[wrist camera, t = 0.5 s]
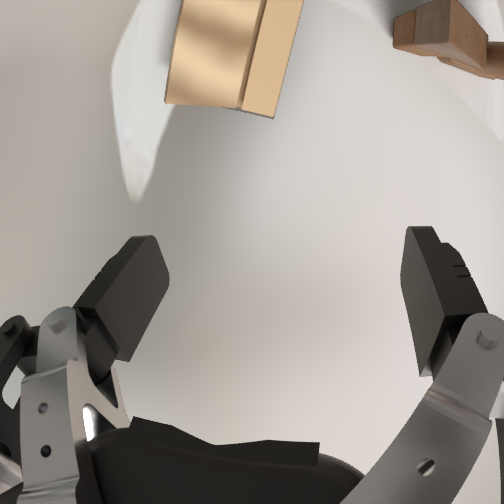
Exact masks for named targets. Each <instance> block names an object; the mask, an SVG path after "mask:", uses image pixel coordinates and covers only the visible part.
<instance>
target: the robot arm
mask: <svg viewBox="0 0 504 504" xmlns="http://www.w3.org/2000/svg"><path fill="white" fill-rule="evenodd" d="M400 276H401V277H400V278H401V288H402V293H403V297H404V301H405V305H406V309H407V313H408V318H409V323H410V327H411V332H412V337H413V341H414V347H415V352H416V358H417V363H418V369H419V375H420V377H424V376H432V377H433V383H432V385H431V387H430V388H429V389H428V390H427V392H426V394H425V395H424V397H423V399H422V400H421V402H420V403H419V405H418V406H417V408H416V409H415V411H414V412H413V414H412V415H411V417H410V418H409V420H408V421H407V423H406V424H405V426H404V427H403V428H402V430H401V431H400V432H399V434H398V435H397V437H396V438H395V439H394V441H393V442H392V443H391V445H390V446H389V447H388V449H387V450H386V451H385V452H384V454H383V455H382V456H381V458H380V459H379V460H378V461H377V462H376V464H375V465H374V466H373V467H372V468H371V470H370V471H369V472H368V473H367V474H366V476H365V475H364V474H363V473H361V472H360V471H359V470H357V469H356V468H354V467H353V466H351V465H349V464H347V463H345V462H344V461H342V460H339V459H337V458H334V457H332V456H328V455H325V454H321V453H319V445H320V443H319V442H292V441H276V440H263V441H256V442H247V443H238V444H228V445H213V444H210V443H207V442H205V441H203V440H201V439H199V438H196V437H194V436H192V435H190V434H188V433H186V432H184V431H182V430H180V429H178V428H176V427H174V426H172V425H167V424H163V423H159V422H154V421H150V420H146V419H142V418H138V417H135V416H133V419H132V421H131V422H130V421H129V419H128V417H127V414H126V411H125V407H124V403H123V399H122V395H121V390H120V386H119V381H118V376H117V372H116V369H115V367H114V366H113V365H112V364H113V362H114V360H115V359H116V360H122V361H127V362H130V360H131V358H132V356H133V354H134V352H135V349H136V348H137V346H138V344H139V342H140V340H141V338H142V336H143V334H144V332H145V330H146V328H147V327H148V325H149V323H150V321H151V319H152V317H153V315H154V313H155V312H156V310H157V308H158V306H159V304H160V302H161V300H162V299H163V297H164V295H165V293H166V291H167V289H168V287H169V272H168V269H167V267H166V264H165V262H164V258H163V256H162V253H161V250H160V248H159V245H158V242H157V240H156V238H155V237H154V236H152V235H146V236H132V237H131V238H130V239H129V240H128V241H127V242H126V243H125V245H124V246H123V247H122V248H121V250H120V251H119V252H118V253H117V254H116V255H115V256H113V257H112V258H111V259H109V260H108V262H107V263H106V264H105V265H104V267H103V268H102V269H101V272H99V273H98V274H97V275H96V277H95V280H93V281H92V282H91V283H90V284H89V286H88V287H87V288H86V290H85V291H84V292H83V294H82V295H81V296H80V298H79V299H78V300H77V302H76V303H75V304H74V306H73V307H68V306H67V307H61V308H58V309H56V310H54V311H53V312H51V313H50V314H49V315H48V316H47V317H46V318H45V319H44V320H43V322H42V323H41V325H40V326H34V327H30V326H29V324H28V323H27V321H26V320H25V318H24V317H23V316H20V315H17V316H14V317H11V318H10V319H9V320H7V321H6V322H5V323H4V324H3V325H2V326H1V327H0V504H451V503H452V501H453V500H454V498H455V497H456V495H457V494H458V492H459V490H460V489H461V487H462V485H463V484H464V482H465V480H466V478H467V477H468V475H469V473H470V471H471V469H472V467H473V466H474V464H475V462H476V460H477V458H478V456H479V454H480V452H481V450H482V448H483V446H484V444H485V442H486V440H487V438H488V435H489V433H490V430H491V427H492V421H491V420H489V417H493V418H495V420H496V427H497V435H498V445H499V457H500V471H501V472H500V473H501V504H504V321H503V320H502V319H501V318H498V317H497V316H495V315H493V314H489V313H488V311H487V308H486V306H485V304H484V301H483V299H482V297H481V295H480V293H479V291H478V288H477V286H476V284H475V282H474V280H473V278H472V277H471V274H470V272H469V270H468V268H467V267H466V265H465V262H464V261H463V259H462V257H461V255H460V253H459V252H458V251H457V250H456V249H455V248H453V247H452V246H451V245H450V244H449V243H441V242H440V240H439V238H438V236H437V234H436V232H435V230H434V229H433V227H432V226H409V227H408V228H407V230H406V236H405V244H404V252H403V258H402V265H401V274H400ZM16 366H17V367H18V368H19V369H20V370H21V371H22V372H23V373H24V375H25V377H24V378H23V379H22V382H21V396H20V397H19V399H18V401H17V403H16V405H15V407H14V409H11V408H10V407H9V406H8V405H7V404H6V403H5V402H4V400H3V397H2V390H3V388H4V386H5V384H6V382H7V380H8V379H9V377H10V375H11V373H12V372H13V370H14V368H15V367H16Z"/></svg>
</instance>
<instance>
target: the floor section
mask: <svg viewBox="0 0 504 504" xmlns="http://www.w3.org/2000/svg"><path fill="white" fill-rule="evenodd" d="M303 3H304V0H261V2H260V6H259V10H258V14H257V18H256V22H255V26H254V30H253V34H252V38H251V42H250V47H249V51H248V55H247V60H246V64H245V69H244V73H243V77H242V82H241V87H240V91H239V96H238V101H237V105H236V108H227V107H223V108H227V109H232V110H237V111H241V112H246V113H250V114H255V115H259V116H263V117H267V118H271V119H274V116H275V112H276V108H277V104H278V100H279V96H280V92H281V88H282V84H283V80H284V76H285V72H286V68H287V65H288V61H289V57H290V53H291V49H292V45H293V41H294V37H295V34H296V30H297V26H298V22H299V18H300V14H301V10H302V6H303Z"/></svg>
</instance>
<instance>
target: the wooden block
mask: <svg viewBox="0 0 504 504" xmlns="http://www.w3.org/2000/svg"><path fill="white" fill-rule="evenodd" d="M393 47H394V48H395V49H398V50H402V51H406V52H410V53H413V54H417V55H420V56H437V58H438V59H439V60H440V62H442V63H445V64H448V65H451V66H454V67H456V68H459V69H462V70H464V71H467V72H469V73H472V74H474V75H477V76H479V77H484V78H488V79H492V80H494V79H495V78H497V79H501V80H504V42H488V35H487V33H486V32H485V31H484V30H483V28H482V27H481V26H480V25H479V24H478V23H477V21H476V20H475V19H474V18H473V17H472V16H471V15H470V13H469V12H468V11H467V10H466V9H465V8H464V7H463V6H462V5H461V4H460V3H459V2H458V1H457V0H434V1H432V2H429V3H427V4H424V5H422V6H420V7H417V9H415V10H412V11H410V12H408V13H405V14H403V15H401V16H399V17H396V18H395V20H394V34H393Z"/></svg>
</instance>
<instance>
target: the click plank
mask: <svg viewBox="0 0 504 504" xmlns="http://www.w3.org/2000/svg"><path fill="white" fill-rule="evenodd" d="M260 2H261V0H182V3H181V7H180V12H179V16H178V21H177V26H176V31H175V36H174V42H173V47H172V53H171V58H170V64H169V70H168V77H167V83H166V90H165V98H164V102H165V103H166V104H185V105H203V106H216V107H227V108H236V105H237V101H238V96H239V91H240V87H241V82H242V77H243V73H244V69H245V64H246V60H247V55H248V51H249V47H250V42H251V38H252V34H253V30H254V26H255V22H256V18H257V14H258V10H259V6H260Z"/></svg>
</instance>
